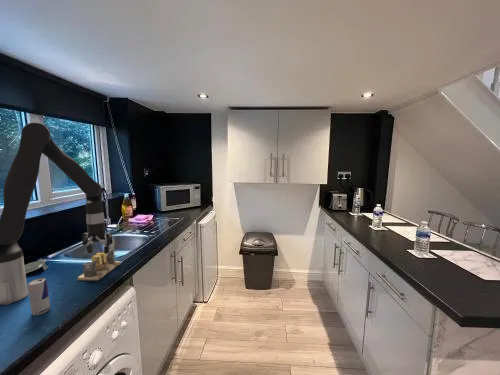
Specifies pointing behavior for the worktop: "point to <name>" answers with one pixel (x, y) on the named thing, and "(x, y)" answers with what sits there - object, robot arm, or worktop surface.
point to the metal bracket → (35, 266)
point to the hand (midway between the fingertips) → (98, 253)
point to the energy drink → (38, 296)
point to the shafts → (95, 261)
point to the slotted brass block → (99, 258)
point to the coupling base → (100, 273)
